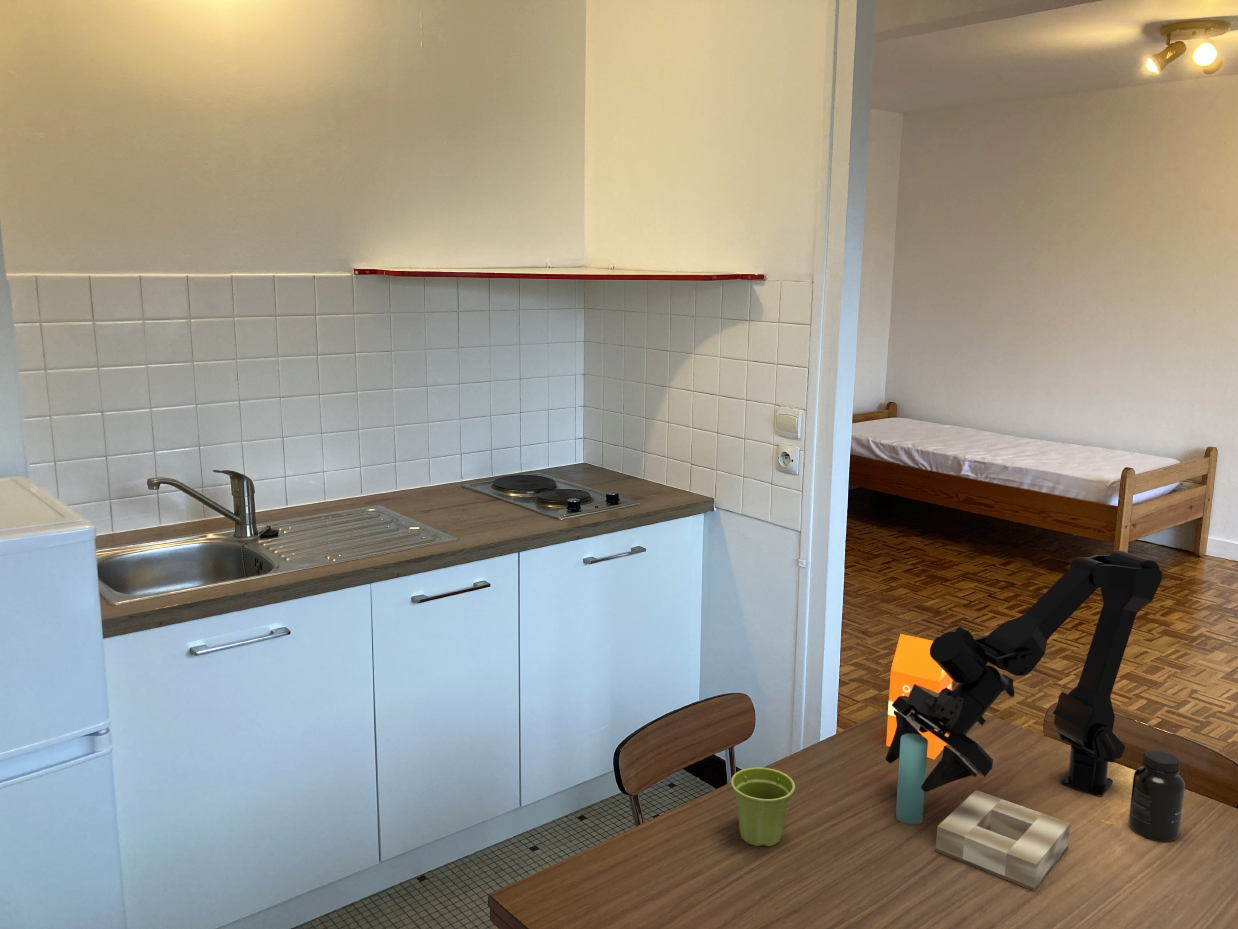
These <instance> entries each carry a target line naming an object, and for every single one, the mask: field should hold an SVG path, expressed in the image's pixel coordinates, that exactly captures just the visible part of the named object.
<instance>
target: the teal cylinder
mask: <svg viewBox="0 0 1238 929" xmlns="http://www.w3.org/2000/svg"><path fill="white" fill-rule="evenodd" d="M927 749H928V740H927V739H926V738H925V737H923V736H921V735H918V734H904V735H902V736H901V742H900V757H899V758H898V760H899V761H898V776H897V788H896V789H897V790H896V808H895V818H896V819H897V820H898V821H900V823H903V824H907V825H919V824H921V823H922V822H923V820H924V806H925V805H924V804H925V794H926V792H924V791H923V790H922V789H921V786H922V784H923V783H924V781H925V780H926V778H927V777H926V776H927V775H926V774H927V765H928V764H927V763H928V762H927V761H928V757H927Z"/></svg>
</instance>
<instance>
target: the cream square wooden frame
mask: <svg viewBox="0 0 1238 929" xmlns="http://www.w3.org/2000/svg"><path fill="white" fill-rule="evenodd" d="M1070 831H1071V823H1070V822H1067V821H1065V820H1062V819H1060V818H1057V817H1054V816H1050V815H1048V814H1045V813H1042V812H1040V811H1036V810H1034V809H1031V808H1028V807H1025V806H1022V805H1020V804H1016V803H1014V802H1011V801H1008V800H1006V799H1003V798H1001V797H997V796H993V795H992V794H988V793H985V792H982V791H980V790H977V789H976V790H975V791H973V792H972V793H971V794H970V795H969V796H968V797H967V798H966V799H965V800H964V801H963V802H961V804H960V805H958V806H957V807H956V808H955V809H954V810H953V811H952V812H951V813H950V814H949V815H948V816H947V817H946V818H945V819H944V820H942V821H941V822H940V823H939V824H938V825H937V828H936V841H935V852H936V853H940V854H942V855H944V856H945V857H946V856H947V857H948V858H951V859H954V860H957V861H958V862H961V863H964V864H966V865H968V866H971V867H973V868H975V867H976V869H977V870H980V869H982V870H981V871H983V872H986V873H988V872H989V873H988V874H990V875H993V876H995V877H998V878H1000V879H1003V880H1004V881H1005V880H1006V881H1007V880H1008V882H1010V883H1013V884H1015V885H1018V886H1020V887H1023V888H1026V889H1027V890H1030V891H1033V892H1034V891H1036V890H1037V888H1038V887H1039V885H1040V884H1041V883H1042V882H1043V880H1044V879H1045V878H1046V877H1047V876H1048V874H1049V873H1050V872H1051V870H1052V869H1053V868H1054V867H1055V865H1056V864H1057V863H1056V862H1059V860H1060V859H1061V857H1062V856H1064V854H1065V852H1067V850H1068V849H1069V838H1070Z"/></svg>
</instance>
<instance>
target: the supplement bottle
mask: <svg viewBox="0 0 1238 929" xmlns="http://www.w3.org/2000/svg"><path fill="white" fill-rule="evenodd" d="M1141 765H1142V766H1140V767H1138V768H1137V769H1136V770H1135V771H1134V773H1133V779H1132V785H1131V786H1132V788H1131V795H1130V796H1131V797H1130V805H1129V812H1128V814H1129V815H1128V824H1129V826H1130V828H1131V830H1133V831H1134V832H1135V833H1137V834H1138V835H1140V836H1142V837H1144V838H1147V839H1149V840H1152V841H1153V840H1154V841H1159V842H1170V841H1174V840H1176V839H1177V838H1178V837H1179V834H1180V829H1181V824H1182V822H1181V821H1182V817H1183V816H1182V815H1183V807H1184V799H1185V789H1186V784H1185V781H1184V779H1183V777H1182V776H1181V775H1180V771H1181V768H1180V767H1181V760H1180V758H1179V757H1178V756H1176V755H1174V754H1173V753H1171V752H1167V751H1163V750H1159V749H1149V750H1146V751H1145V752H1143V757H1142V761H1141Z"/></svg>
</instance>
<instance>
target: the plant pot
mask: <svg viewBox="0 0 1238 929" xmlns="http://www.w3.org/2000/svg"><path fill="white" fill-rule="evenodd" d="M730 784H731V787H732V789H733V791H734V795H735V798H736V807H737V816H738V823H739V824H738V825H739V826H738V827H739V834H740V836H741V839H742V840H743V841H744V842H745V843H747V844H749V845H752V846H755V847H760V846H766V847H772V846H775V845H777V844H778V843H779V842H780V841H781V840H782V836H783V830H784V824H785V819H786V815H787V810H788V806H789V805H788V804H789V802H790V800H791V796H793V794H794V792H795V790H796V785H795V782H794V780H793V779H792V778H791V777H790V775H787V774H786V773H785V772H782V771H780V770H778V769H773V768H768V767H757V766H756V767H749V768H744V769H741V770H738V771H736V773H734V774H733V775H732V777H731V779H730Z"/></svg>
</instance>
